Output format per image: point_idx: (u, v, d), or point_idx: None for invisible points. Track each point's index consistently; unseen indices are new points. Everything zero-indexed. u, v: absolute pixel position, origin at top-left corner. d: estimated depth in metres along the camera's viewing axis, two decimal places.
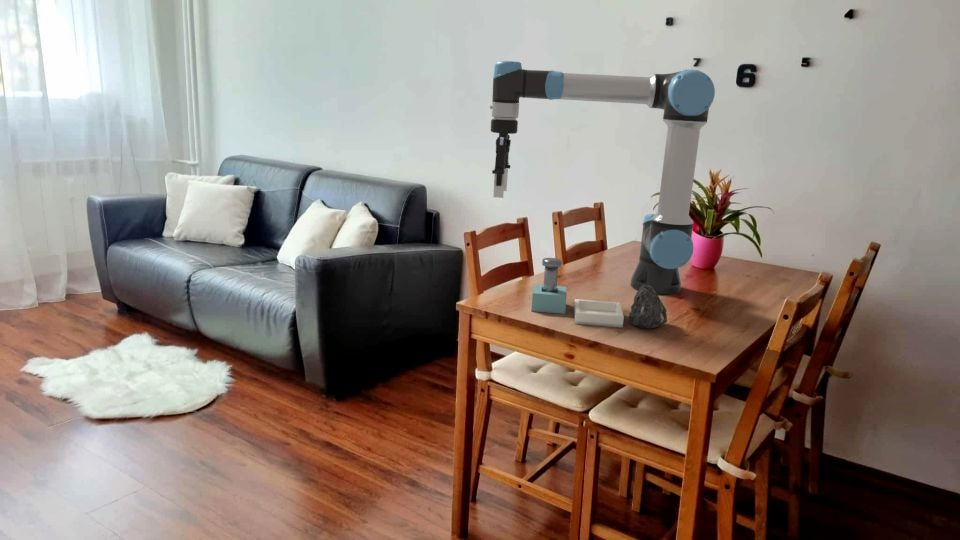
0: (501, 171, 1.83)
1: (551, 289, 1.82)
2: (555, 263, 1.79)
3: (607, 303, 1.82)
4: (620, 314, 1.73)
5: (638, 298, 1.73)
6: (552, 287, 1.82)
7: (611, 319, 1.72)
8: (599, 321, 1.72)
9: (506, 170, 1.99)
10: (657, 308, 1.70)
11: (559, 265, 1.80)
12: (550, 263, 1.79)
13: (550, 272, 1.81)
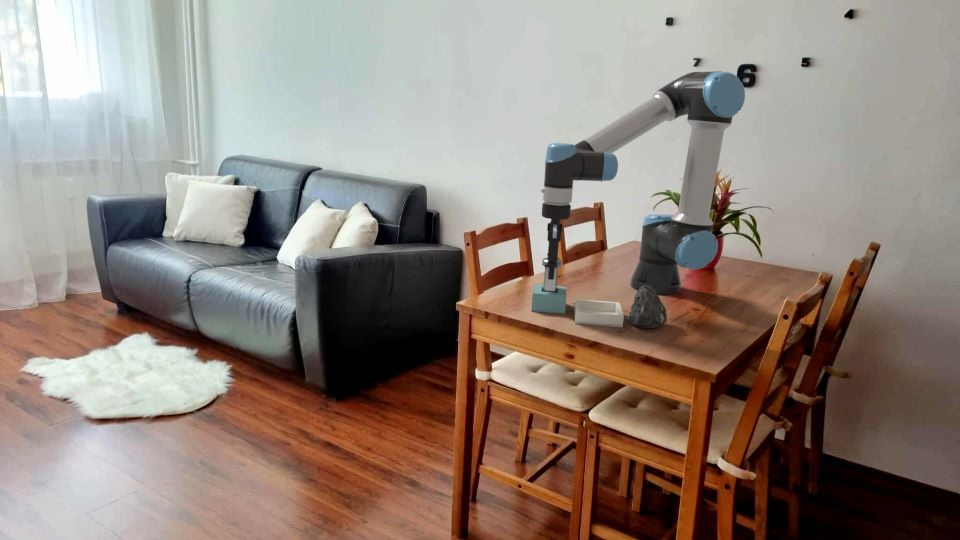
0: (554, 266, 1.76)
1: None
2: None
3: (607, 303, 1.82)
4: (620, 314, 1.73)
5: (638, 298, 1.73)
6: None
7: (611, 319, 1.72)
8: (599, 321, 1.72)
9: None
10: (657, 308, 1.70)
11: (559, 265, 1.80)
12: None
13: None
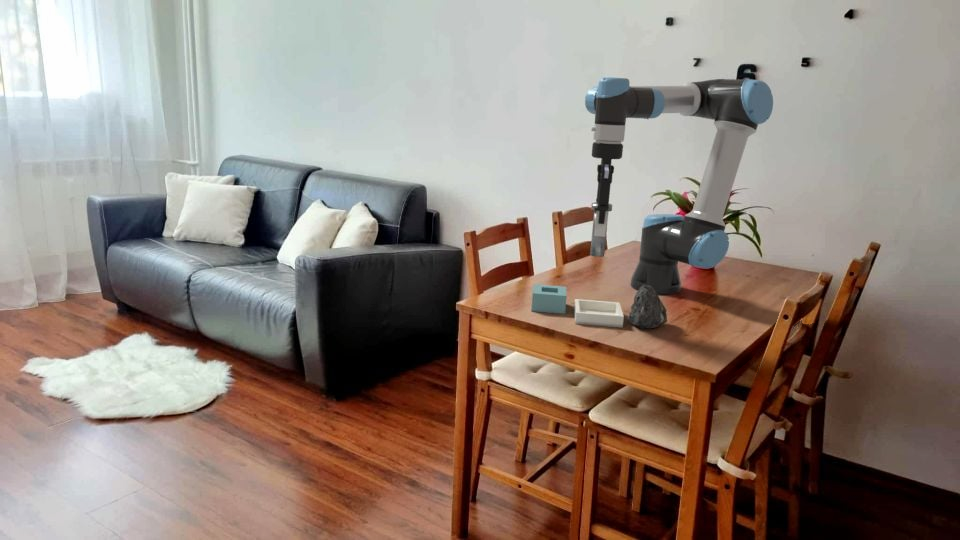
0: (605, 208, 1.65)
1: None
2: None
3: (607, 303, 1.82)
4: (620, 314, 1.73)
5: (638, 298, 1.73)
6: None
7: (611, 319, 1.72)
8: (599, 321, 1.72)
9: None
10: (657, 308, 1.70)
11: (610, 209, 1.70)
12: None
13: None
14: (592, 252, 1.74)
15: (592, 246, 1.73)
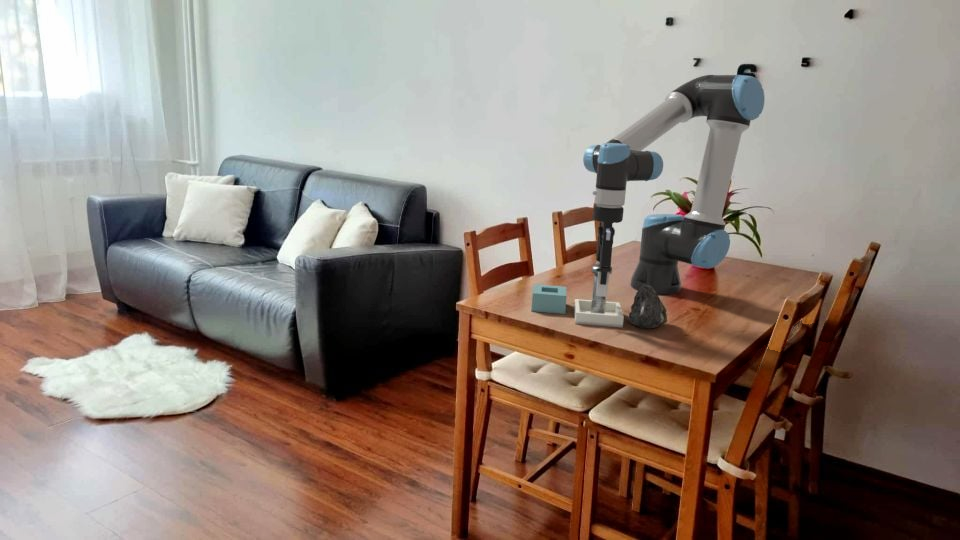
0: (608, 270, 1.67)
1: (601, 297, 1.75)
2: None
3: (607, 303, 1.82)
4: (620, 314, 1.73)
5: (638, 298, 1.73)
6: None
7: (611, 319, 1.72)
8: (599, 321, 1.72)
9: None
10: (657, 308, 1.70)
11: (610, 272, 1.73)
12: None
13: None
14: None
15: (593, 307, 1.77)
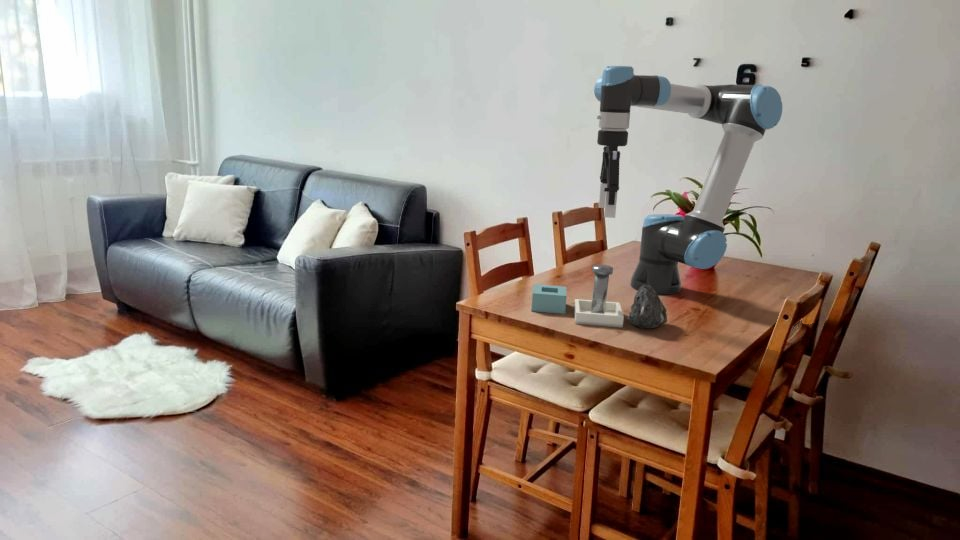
0: (616, 189, 1.64)
1: (602, 297, 1.75)
2: (606, 270, 1.72)
3: (607, 303, 1.82)
4: (620, 314, 1.73)
5: (638, 298, 1.73)
6: (603, 296, 1.75)
7: (611, 319, 1.72)
8: (599, 321, 1.72)
9: None
10: (657, 308, 1.70)
11: (610, 272, 1.73)
12: (601, 270, 1.72)
13: (601, 279, 1.74)
14: None
15: (593, 307, 1.77)
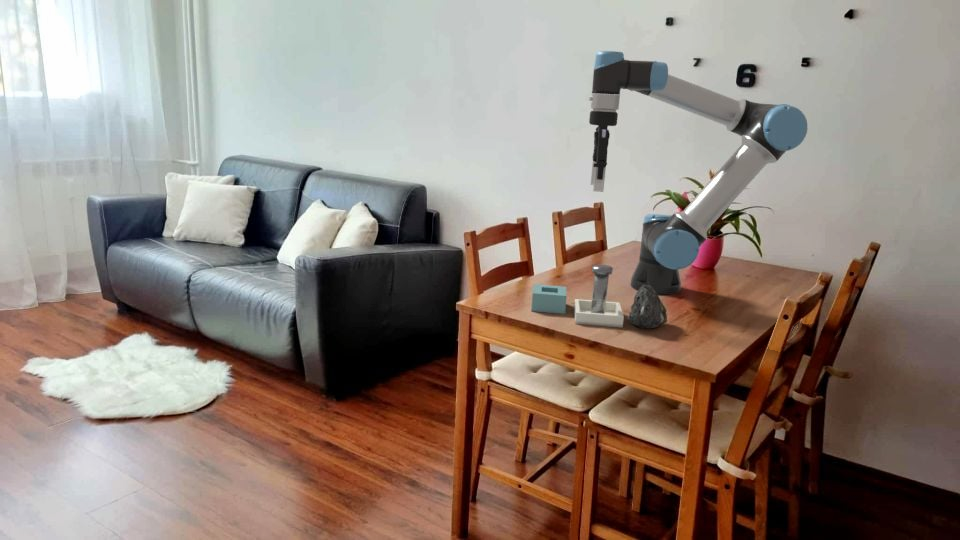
0: (604, 164, 1.78)
1: (602, 297, 1.75)
2: (606, 270, 1.72)
3: (607, 303, 1.82)
4: (620, 314, 1.73)
5: (638, 298, 1.73)
6: (603, 295, 1.75)
7: (611, 319, 1.72)
8: (599, 321, 1.72)
9: None
10: (657, 308, 1.70)
11: (610, 272, 1.73)
12: (601, 270, 1.72)
13: (601, 279, 1.74)
14: None
15: (593, 307, 1.77)
